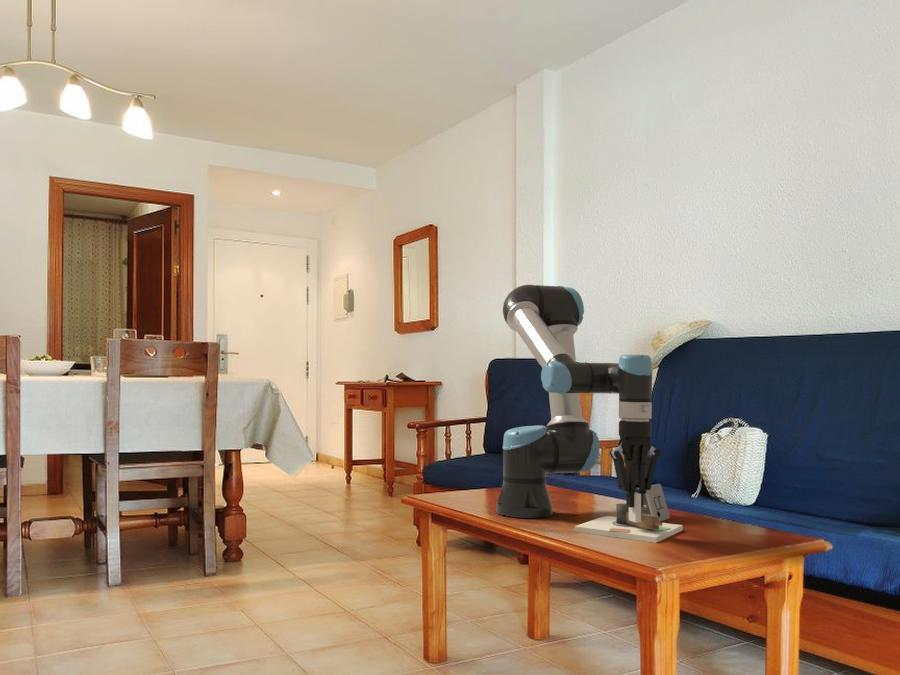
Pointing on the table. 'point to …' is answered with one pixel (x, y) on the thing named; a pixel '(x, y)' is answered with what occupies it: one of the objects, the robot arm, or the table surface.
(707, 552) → the table surface
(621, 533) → the tuner plate
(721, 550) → the table surface
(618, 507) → the peg
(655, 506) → the electrical switch
